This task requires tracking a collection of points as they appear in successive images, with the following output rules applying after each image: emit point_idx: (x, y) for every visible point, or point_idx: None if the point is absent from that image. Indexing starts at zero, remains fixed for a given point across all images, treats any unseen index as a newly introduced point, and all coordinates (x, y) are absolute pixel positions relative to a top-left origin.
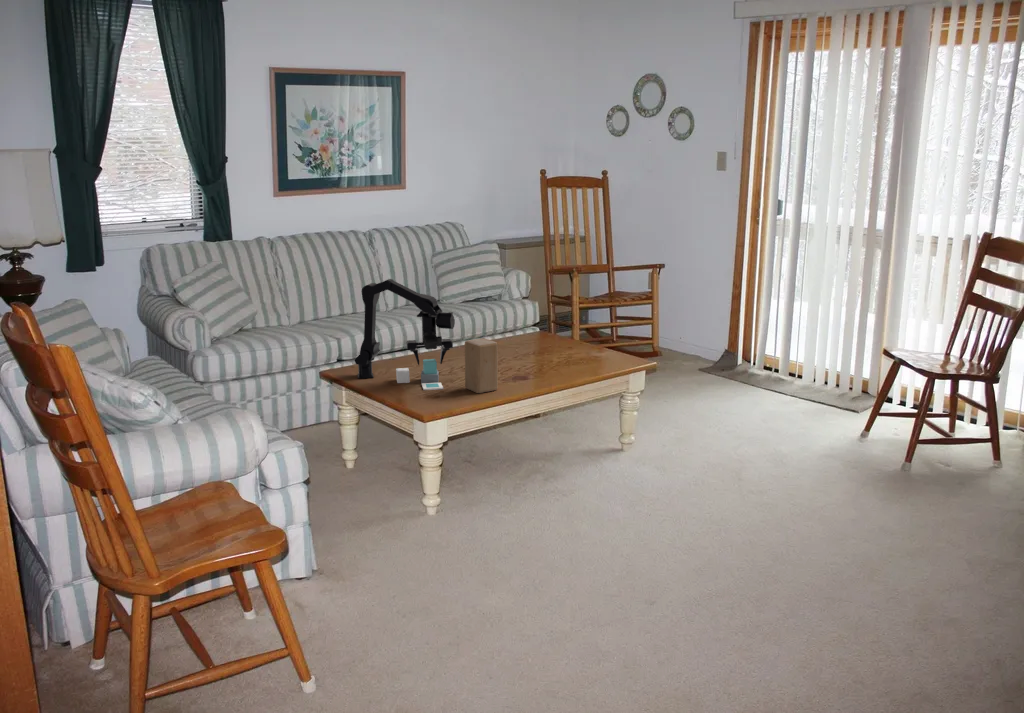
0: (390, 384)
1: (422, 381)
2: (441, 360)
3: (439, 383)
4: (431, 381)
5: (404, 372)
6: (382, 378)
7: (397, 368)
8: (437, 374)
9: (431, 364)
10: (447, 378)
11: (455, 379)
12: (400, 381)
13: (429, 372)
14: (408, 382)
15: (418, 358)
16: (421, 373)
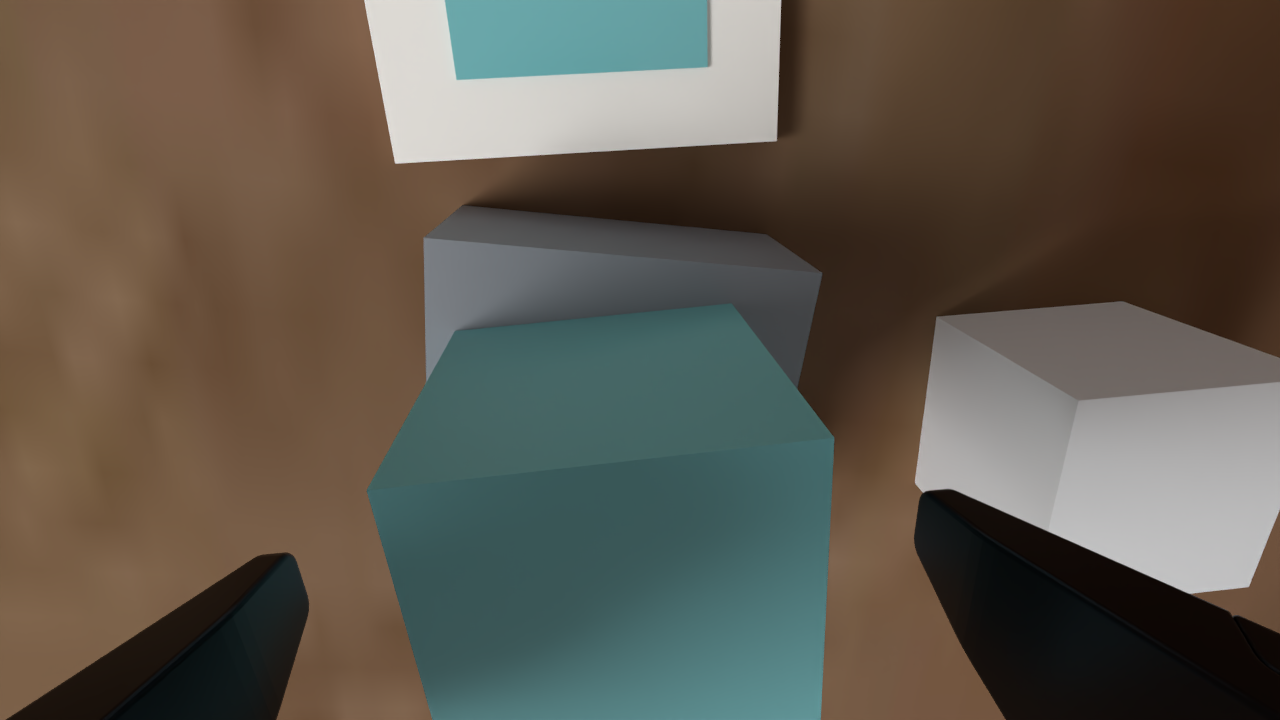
0: (1247, 236)
1: (750, 239)
2: (186, 628)
3: (421, 84)
4: (583, 221)
5: (1158, 377)
6: None
7: (1227, 586)
8: (435, 256)
9: (572, 422)
10: (316, 483)
11: (164, 420)
12: (1095, 311)
13: (627, 328)
14: (955, 315)
15: (1117, 611)
16: (792, 378)
